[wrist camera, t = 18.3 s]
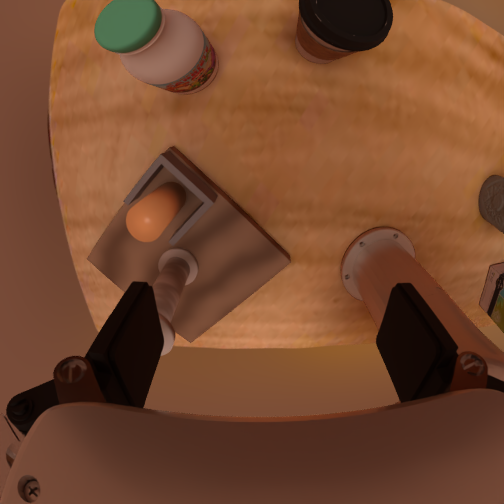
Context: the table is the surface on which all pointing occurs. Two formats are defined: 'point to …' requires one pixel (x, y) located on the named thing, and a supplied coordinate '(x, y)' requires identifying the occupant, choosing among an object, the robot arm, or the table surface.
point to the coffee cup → (341, 27)
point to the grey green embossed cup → (493, 201)
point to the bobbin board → (192, 260)
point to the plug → (155, 211)
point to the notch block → (187, 179)
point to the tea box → (494, 295)
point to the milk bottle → (158, 45)
